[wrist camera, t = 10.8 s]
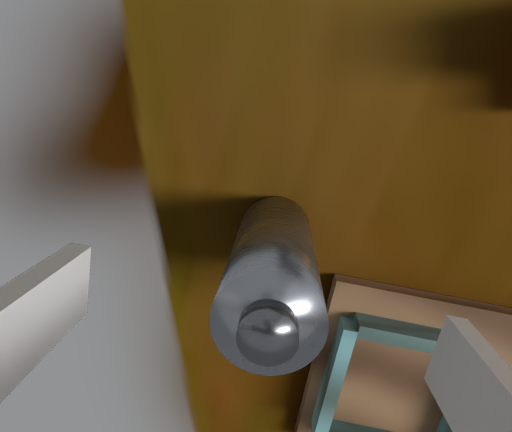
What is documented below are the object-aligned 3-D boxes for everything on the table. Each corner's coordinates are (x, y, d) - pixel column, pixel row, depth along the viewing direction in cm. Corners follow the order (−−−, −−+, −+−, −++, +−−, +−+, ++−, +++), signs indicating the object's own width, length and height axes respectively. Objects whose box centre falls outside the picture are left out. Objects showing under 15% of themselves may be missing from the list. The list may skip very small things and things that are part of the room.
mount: (334, 273, 23) (342, 302, 19) (672, 339, 22) (739, 380, 19) (293, 430, 26) (294, 477, 23) (585, 490, 26) (629, 547, 22)
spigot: (246, 190, 22) (212, 271, 11) (315, 203, 22) (344, 294, 11) (236, 254, 23) (197, 380, 13) (302, 266, 23) (317, 402, 13)
